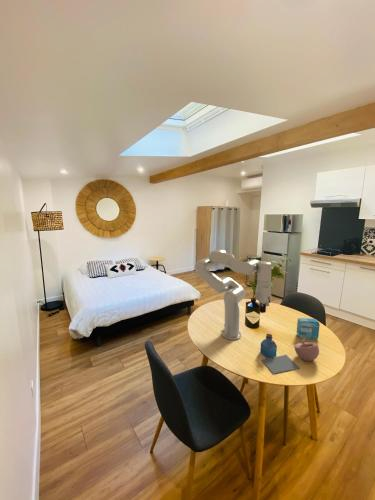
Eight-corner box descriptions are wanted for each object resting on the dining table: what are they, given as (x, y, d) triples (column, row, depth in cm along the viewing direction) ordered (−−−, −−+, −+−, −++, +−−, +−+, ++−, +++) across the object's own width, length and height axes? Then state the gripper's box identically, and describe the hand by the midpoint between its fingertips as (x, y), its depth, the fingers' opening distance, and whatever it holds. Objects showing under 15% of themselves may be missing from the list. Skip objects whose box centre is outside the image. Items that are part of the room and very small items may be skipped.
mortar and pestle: (302, 349, 134) (304, 332, 132) (322, 361, 124) (324, 342, 122) (289, 355, 129) (290, 337, 127) (308, 368, 118) (310, 349, 116)
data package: (298, 337, 146) (299, 321, 144) (296, 334, 151) (297, 317, 149) (318, 339, 145) (320, 322, 142) (315, 335, 149) (317, 318, 147)
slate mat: (261, 360, 125) (261, 359, 125) (286, 355, 129) (286, 354, 129) (273, 374, 115) (273, 373, 115) (299, 368, 119) (299, 367, 118)
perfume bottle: (260, 352, 132) (261, 333, 130) (268, 349, 135) (269, 331, 133) (267, 358, 127) (269, 339, 125) (276, 355, 129) (277, 336, 127)
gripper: (251, 279, 137) (250, 307, 140) (265, 287, 123) (264, 318, 126) (262, 278, 139) (261, 306, 142) (277, 286, 125) (275, 317, 128)
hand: (262, 312), depth 134 cm, fingers closed
